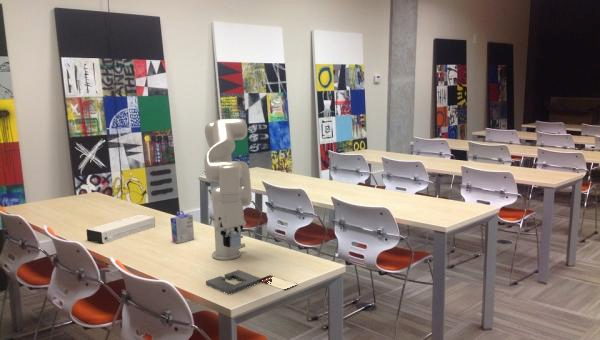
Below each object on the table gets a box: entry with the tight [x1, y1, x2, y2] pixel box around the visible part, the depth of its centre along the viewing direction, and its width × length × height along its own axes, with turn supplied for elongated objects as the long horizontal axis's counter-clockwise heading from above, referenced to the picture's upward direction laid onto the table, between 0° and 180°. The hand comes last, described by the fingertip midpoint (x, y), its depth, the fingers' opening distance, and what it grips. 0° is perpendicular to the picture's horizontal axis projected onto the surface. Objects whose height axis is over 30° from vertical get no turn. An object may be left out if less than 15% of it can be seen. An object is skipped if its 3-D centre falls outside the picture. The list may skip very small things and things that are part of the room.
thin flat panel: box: [261, 274, 298, 291], centre depth 199 cm, size 7×1×15 cm
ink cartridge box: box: [170, 210, 195, 244], centre depth 253 cm, size 10×6×14 cm, turn 137°
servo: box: [220, 230, 244, 248], centre depth 196 cm, size 4×9×6 cm, turn 46°
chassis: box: [205, 269, 263, 295], centre depth 198 cm, size 16×14×2 cm
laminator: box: [86, 214, 156, 245], centre depth 266 cm, size 34×12×6 cm, turn 149°
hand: (231, 244), depth 196 cm, fingers closed on servo, 4 cm apart
